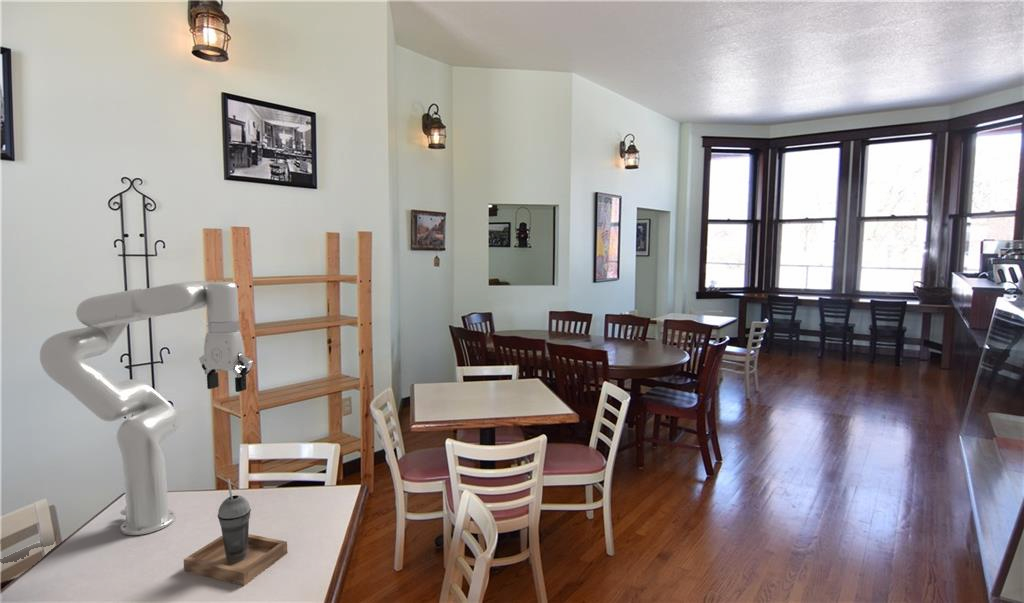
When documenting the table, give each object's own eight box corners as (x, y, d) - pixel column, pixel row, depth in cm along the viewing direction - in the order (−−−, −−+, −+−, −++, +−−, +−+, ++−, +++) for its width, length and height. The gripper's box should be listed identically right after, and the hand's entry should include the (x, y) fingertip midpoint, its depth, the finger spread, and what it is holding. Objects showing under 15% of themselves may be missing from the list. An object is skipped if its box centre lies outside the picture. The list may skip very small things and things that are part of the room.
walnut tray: (184, 571, 129) (183, 559, 129) (231, 541, 142) (230, 530, 142) (244, 585, 124) (243, 573, 123) (287, 552, 137) (286, 541, 136)
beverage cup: (239, 567, 129) (235, 487, 127) (213, 564, 130) (208, 484, 128) (259, 551, 136) (255, 474, 134) (234, 548, 137) (230, 472, 135)
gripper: (187, 328, 146) (190, 390, 147) (238, 331, 140) (241, 395, 142) (210, 324, 153) (213, 383, 154) (259, 327, 147) (262, 388, 149)
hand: (227, 389), depth 148 cm, fingers open, 9 cm apart
